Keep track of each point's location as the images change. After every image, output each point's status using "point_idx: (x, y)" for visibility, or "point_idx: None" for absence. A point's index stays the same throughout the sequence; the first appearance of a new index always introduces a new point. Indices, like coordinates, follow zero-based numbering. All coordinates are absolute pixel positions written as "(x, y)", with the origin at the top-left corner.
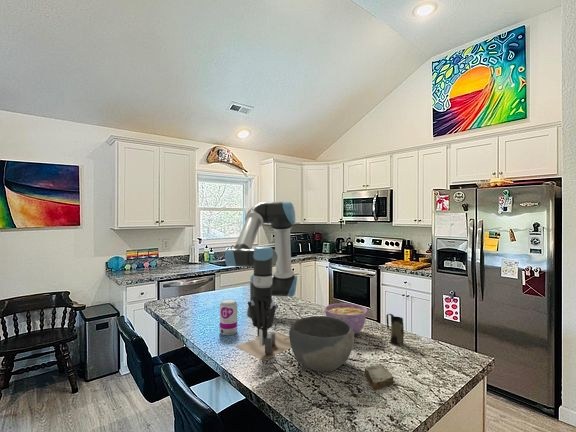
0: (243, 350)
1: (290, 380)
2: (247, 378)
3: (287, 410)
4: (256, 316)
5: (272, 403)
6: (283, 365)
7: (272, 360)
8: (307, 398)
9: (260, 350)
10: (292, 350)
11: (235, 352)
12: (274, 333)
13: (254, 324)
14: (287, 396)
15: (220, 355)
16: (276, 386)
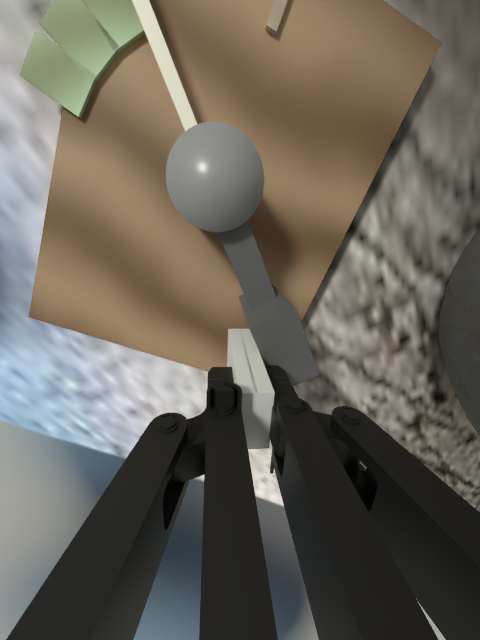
0: (123, 344)
1: (411, 437)
2: (273, 483)
3: None
4: (142, 545)
5: None
6: (360, 361)
7: None
8: (470, 486)
9: (208, 304)
10: (466, 410)
11: (81, 344)
12: (254, 166)
13: (173, 488)
14: None
15: (44, 401)
16: None
